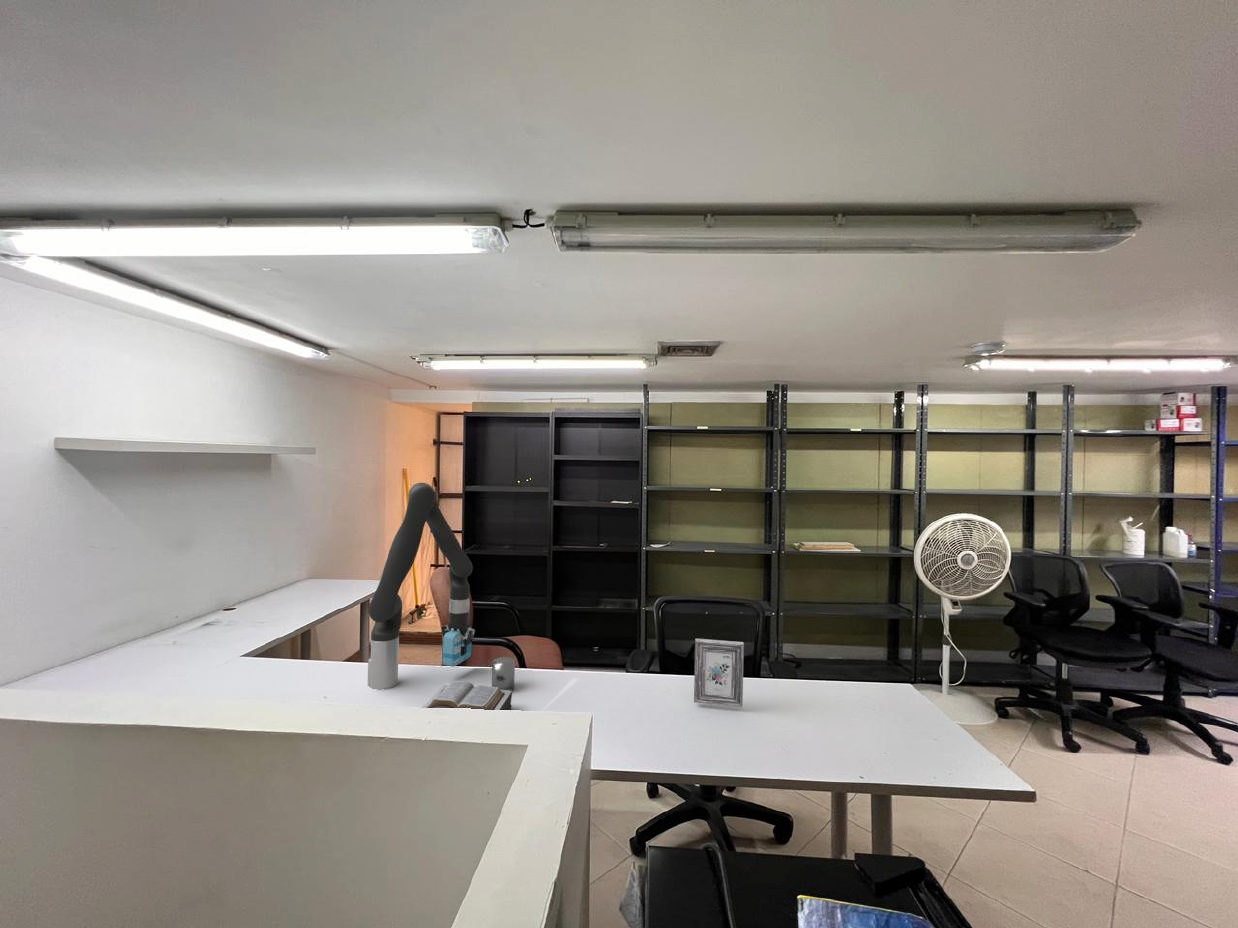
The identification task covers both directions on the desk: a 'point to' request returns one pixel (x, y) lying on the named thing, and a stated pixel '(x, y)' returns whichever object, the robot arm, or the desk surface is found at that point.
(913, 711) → the desk surface
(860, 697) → the desk surface
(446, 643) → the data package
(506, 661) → the grey domed cylinder
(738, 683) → the picture frame
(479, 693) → the bible
